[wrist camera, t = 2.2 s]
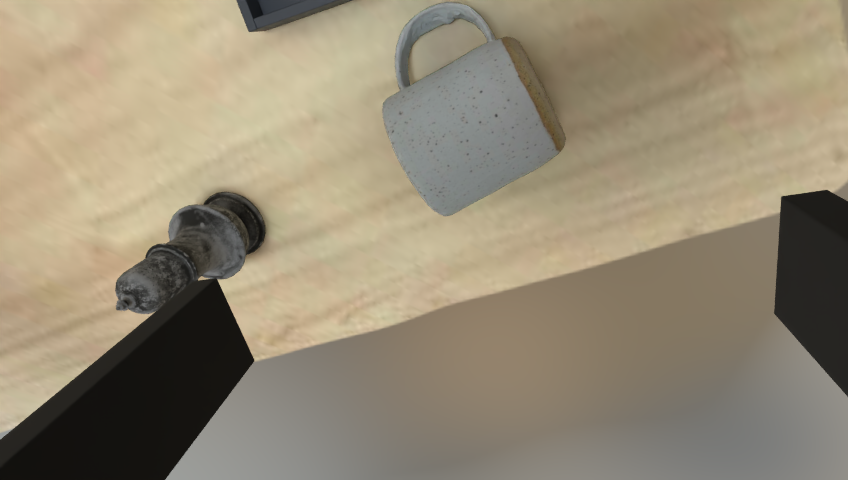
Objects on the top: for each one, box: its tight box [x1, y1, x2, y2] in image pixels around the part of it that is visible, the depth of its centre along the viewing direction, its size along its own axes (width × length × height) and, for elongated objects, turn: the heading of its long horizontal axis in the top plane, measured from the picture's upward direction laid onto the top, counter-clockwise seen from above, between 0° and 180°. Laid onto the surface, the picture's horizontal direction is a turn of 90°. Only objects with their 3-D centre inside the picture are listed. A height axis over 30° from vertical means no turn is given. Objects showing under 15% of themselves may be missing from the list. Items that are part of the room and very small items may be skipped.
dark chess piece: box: [115, 192, 265, 314], centre depth 31 cm, size 6×6×12 cm
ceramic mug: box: [383, 2, 566, 216], centre depth 26 cm, size 11×8×8 cm
